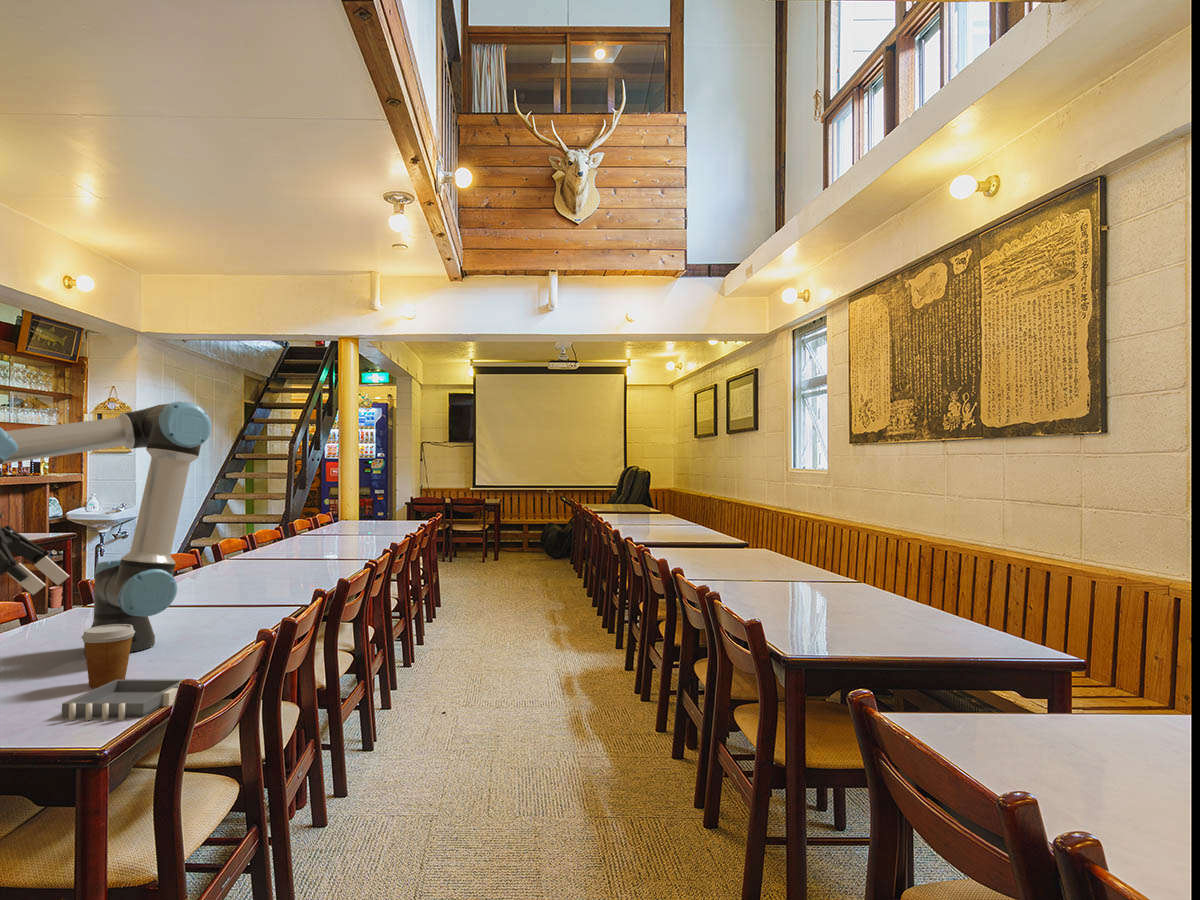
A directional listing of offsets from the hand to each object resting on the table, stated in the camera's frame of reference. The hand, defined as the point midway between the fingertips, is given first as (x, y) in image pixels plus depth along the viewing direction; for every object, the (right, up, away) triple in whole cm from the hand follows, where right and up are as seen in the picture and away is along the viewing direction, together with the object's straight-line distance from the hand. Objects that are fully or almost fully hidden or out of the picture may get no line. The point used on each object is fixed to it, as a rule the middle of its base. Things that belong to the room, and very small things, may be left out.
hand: (52, 585), depth 147 cm
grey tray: (+25, -21, -12) cm, 35 cm away
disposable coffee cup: (+11, -22, +1) cm, 25 cm away
